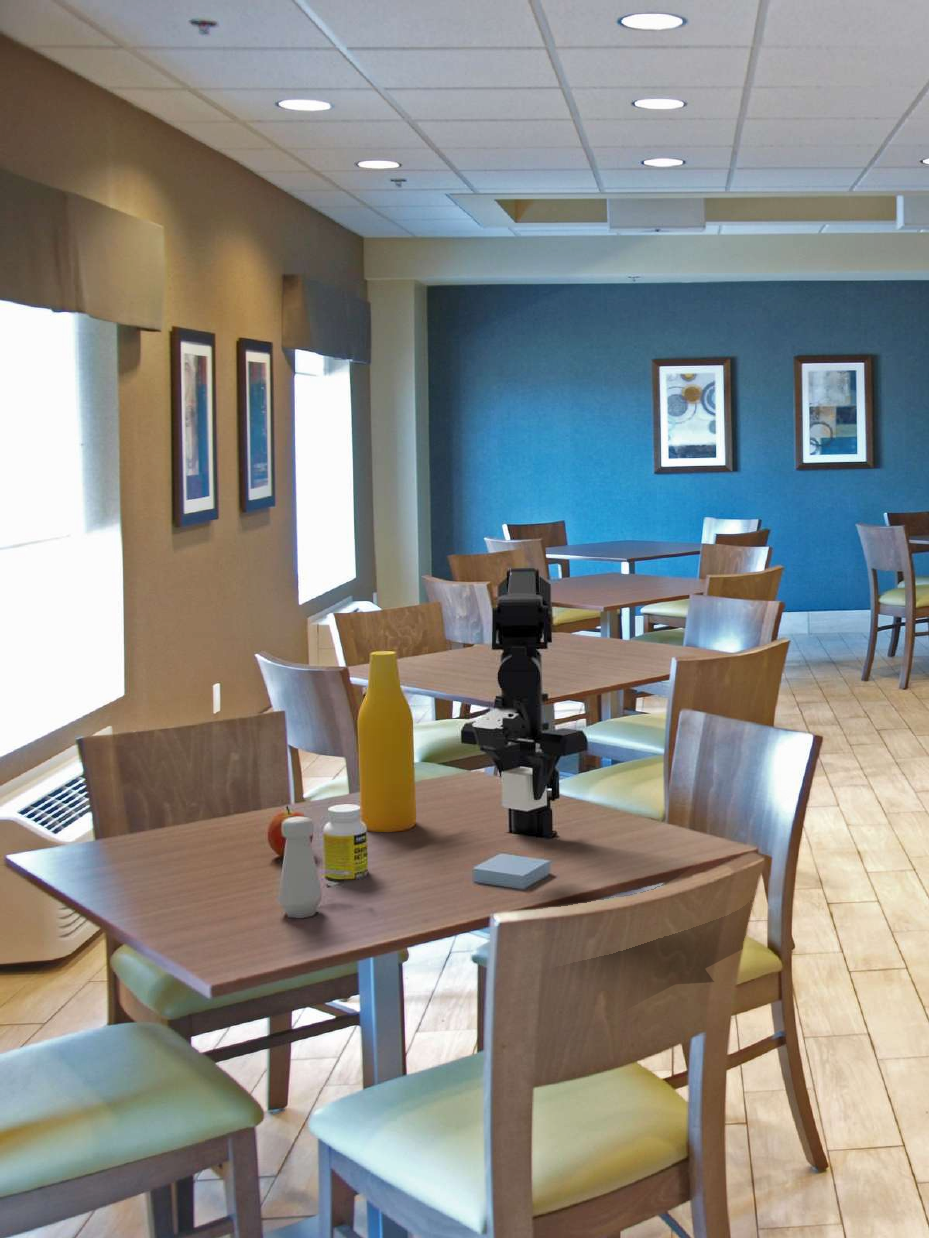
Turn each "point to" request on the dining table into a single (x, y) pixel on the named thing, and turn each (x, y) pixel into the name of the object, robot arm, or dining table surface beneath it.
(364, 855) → the pill bottle
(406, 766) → the beer bottle
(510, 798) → the cream block
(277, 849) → the fruit
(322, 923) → the dining table surface
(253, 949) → the dining table surface
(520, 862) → the slate slab
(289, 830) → the salt shaker
